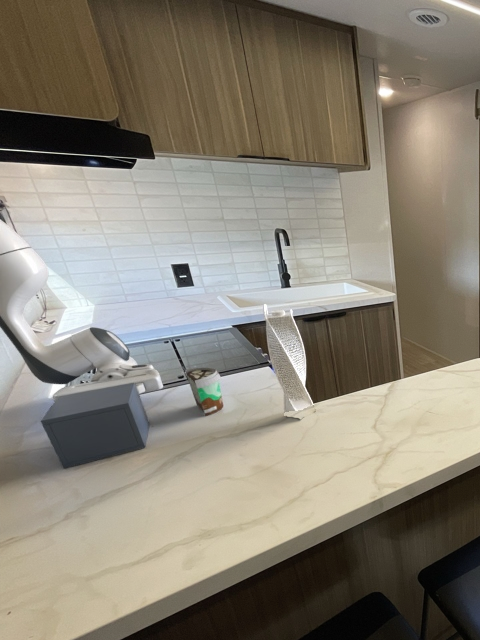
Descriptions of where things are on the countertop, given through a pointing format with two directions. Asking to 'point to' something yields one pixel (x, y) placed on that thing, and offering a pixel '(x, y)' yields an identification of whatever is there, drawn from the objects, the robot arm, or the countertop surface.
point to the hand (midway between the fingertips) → (107, 398)
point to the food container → (205, 389)
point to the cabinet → (96, 424)
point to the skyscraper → (287, 358)
